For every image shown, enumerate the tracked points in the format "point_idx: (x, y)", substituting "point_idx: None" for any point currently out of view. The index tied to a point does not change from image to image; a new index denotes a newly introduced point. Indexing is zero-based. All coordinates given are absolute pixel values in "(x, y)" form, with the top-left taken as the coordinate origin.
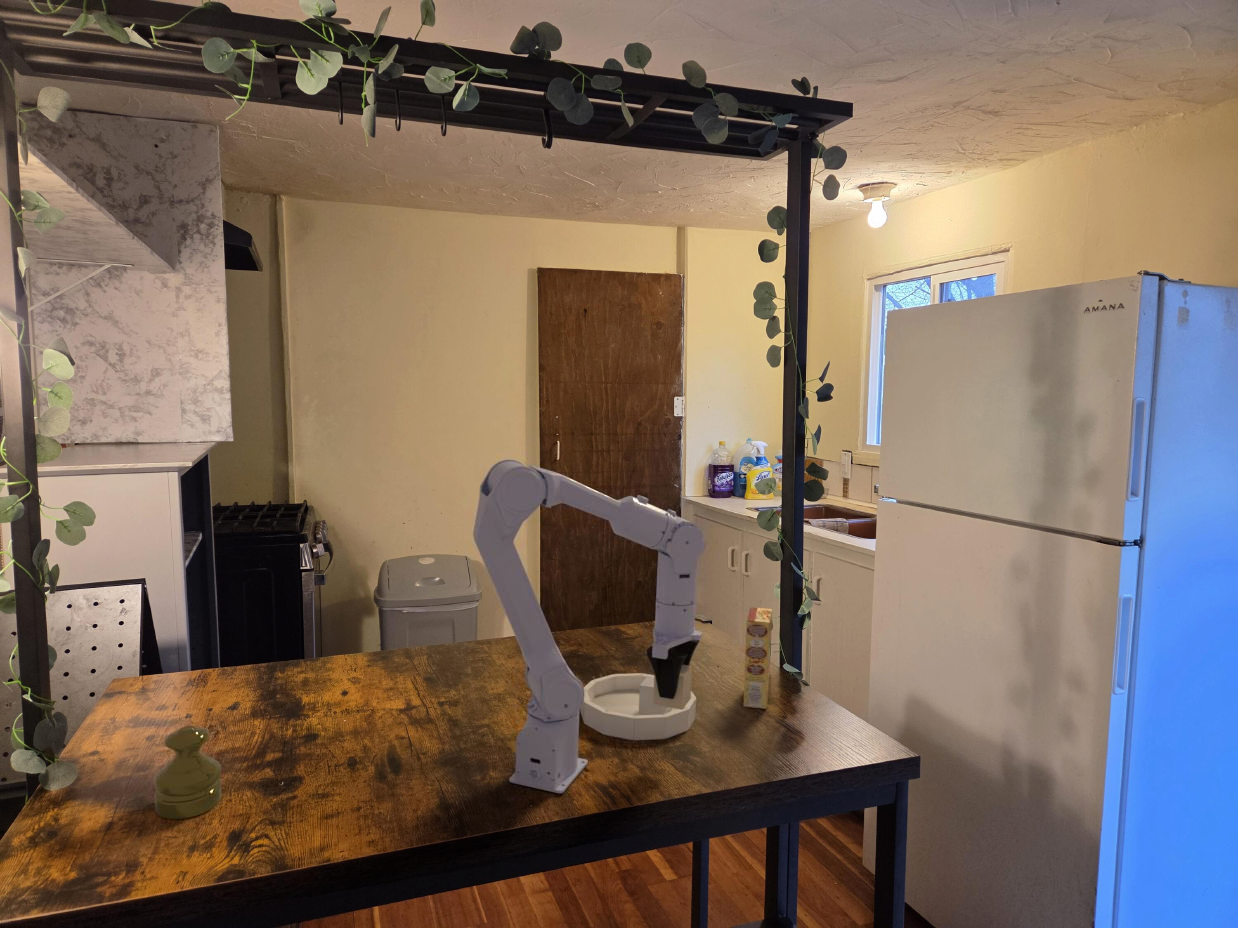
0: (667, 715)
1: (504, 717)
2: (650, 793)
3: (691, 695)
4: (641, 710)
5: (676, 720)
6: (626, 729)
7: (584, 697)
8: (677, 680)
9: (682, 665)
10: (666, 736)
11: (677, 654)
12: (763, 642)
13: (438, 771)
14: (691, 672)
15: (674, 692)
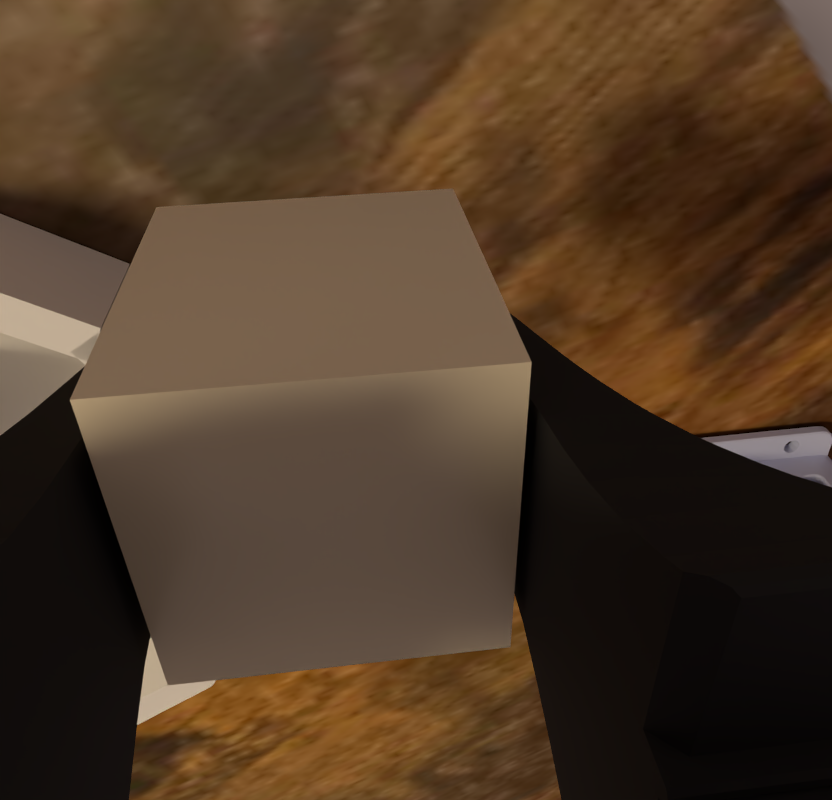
0: (71, 328)
1: (340, 774)
2: (747, 112)
3: None
4: None
5: (10, 267)
6: None
7: (161, 705)
8: (571, 386)
9: (145, 501)
10: (117, 264)
11: (811, 700)
12: None
13: None
14: (112, 345)
15: (531, 332)
